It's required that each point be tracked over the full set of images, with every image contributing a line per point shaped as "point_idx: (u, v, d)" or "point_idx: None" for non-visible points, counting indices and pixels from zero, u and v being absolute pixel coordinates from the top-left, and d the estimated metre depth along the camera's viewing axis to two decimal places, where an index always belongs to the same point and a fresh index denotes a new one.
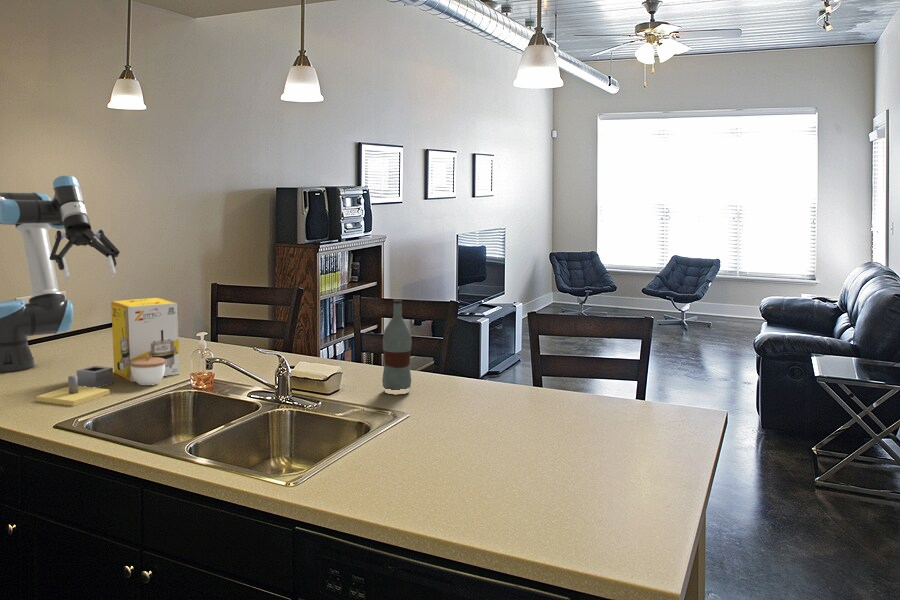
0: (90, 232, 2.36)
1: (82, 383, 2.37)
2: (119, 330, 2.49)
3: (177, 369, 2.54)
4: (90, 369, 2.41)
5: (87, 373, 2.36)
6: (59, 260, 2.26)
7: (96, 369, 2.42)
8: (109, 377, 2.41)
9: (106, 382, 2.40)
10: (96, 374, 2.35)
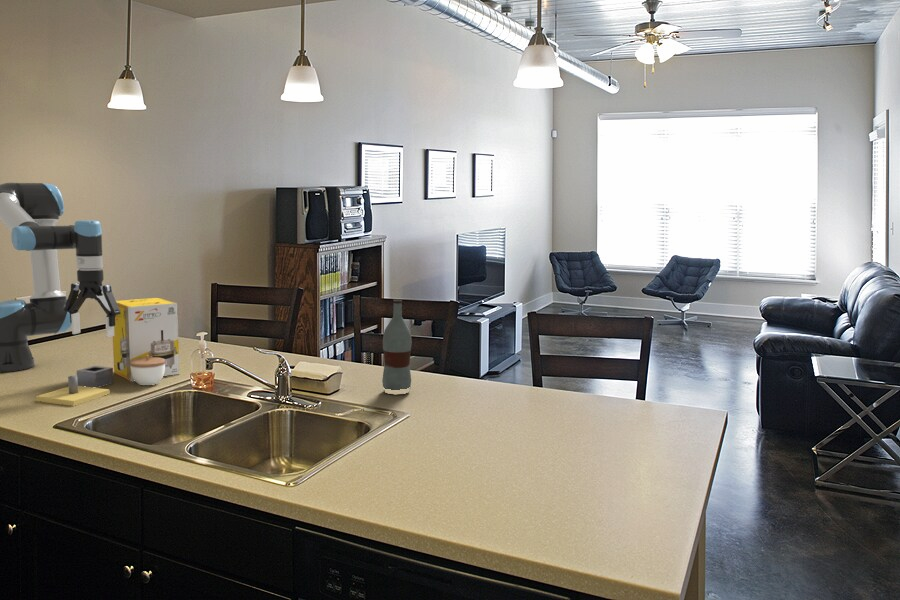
0: (95, 288, 2.34)
1: (82, 383, 2.37)
2: (119, 330, 2.49)
3: (177, 369, 2.54)
4: (90, 369, 2.41)
5: (87, 373, 2.36)
6: (70, 315, 2.39)
7: (96, 369, 2.42)
8: (109, 377, 2.41)
9: (106, 382, 2.40)
10: (96, 374, 2.35)
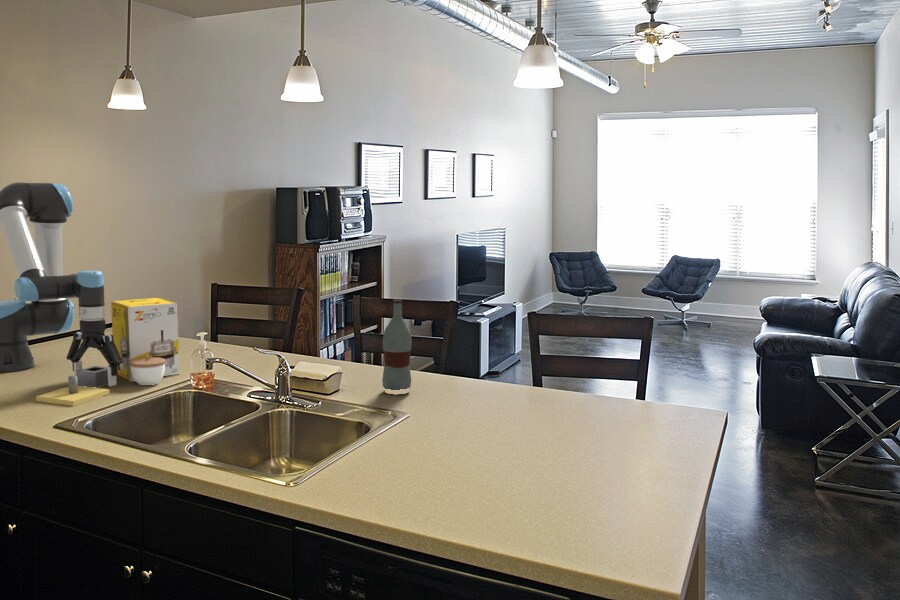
0: (98, 337, 2.36)
1: (82, 383, 2.37)
2: (119, 330, 2.49)
3: (177, 369, 2.54)
4: (90, 369, 2.41)
5: (87, 373, 2.36)
6: (73, 363, 2.41)
7: (96, 369, 2.42)
8: None
9: (106, 382, 2.40)
10: (96, 374, 2.35)
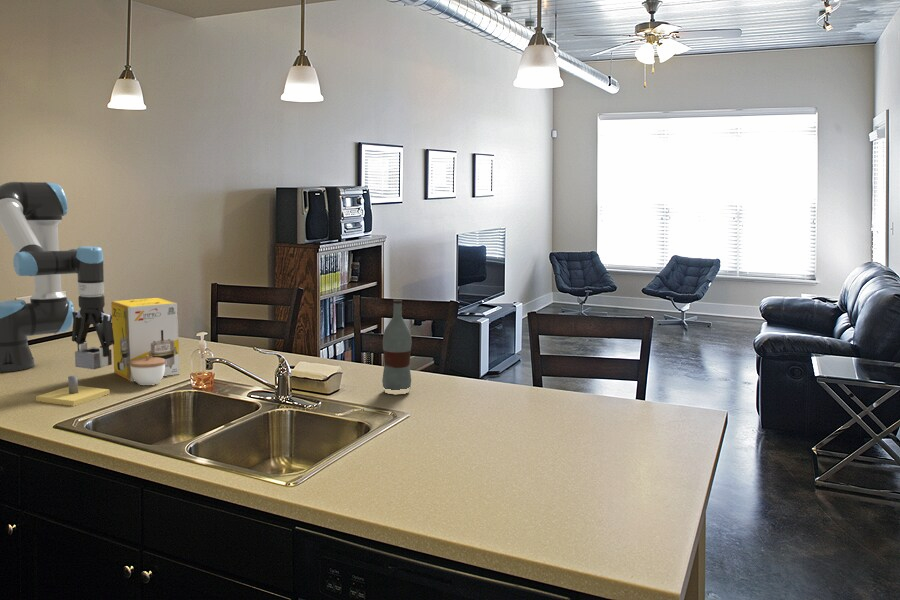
0: (96, 314, 2.35)
1: (81, 365, 2.36)
2: (119, 330, 2.49)
3: (177, 369, 2.54)
4: (89, 350, 2.40)
5: (85, 354, 2.35)
6: (78, 345, 2.40)
7: (95, 350, 2.42)
8: (108, 359, 2.40)
9: None
10: (94, 355, 2.35)
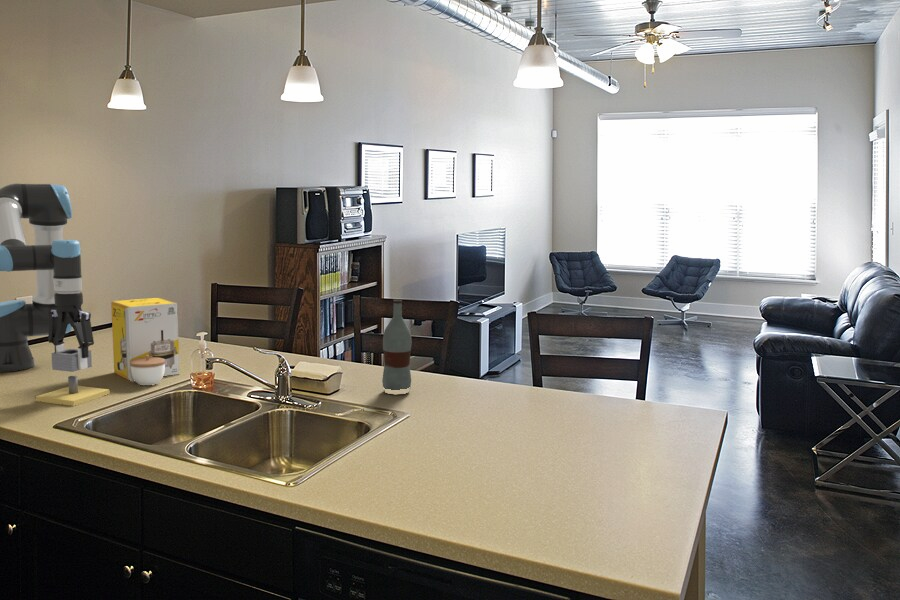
0: (74, 312, 2.18)
1: (58, 367, 2.20)
2: (119, 330, 2.49)
3: (177, 369, 2.54)
4: (67, 352, 2.23)
5: (62, 356, 2.18)
6: (55, 347, 2.23)
7: (73, 352, 2.25)
8: (88, 360, 2.24)
9: None
10: (72, 357, 2.18)
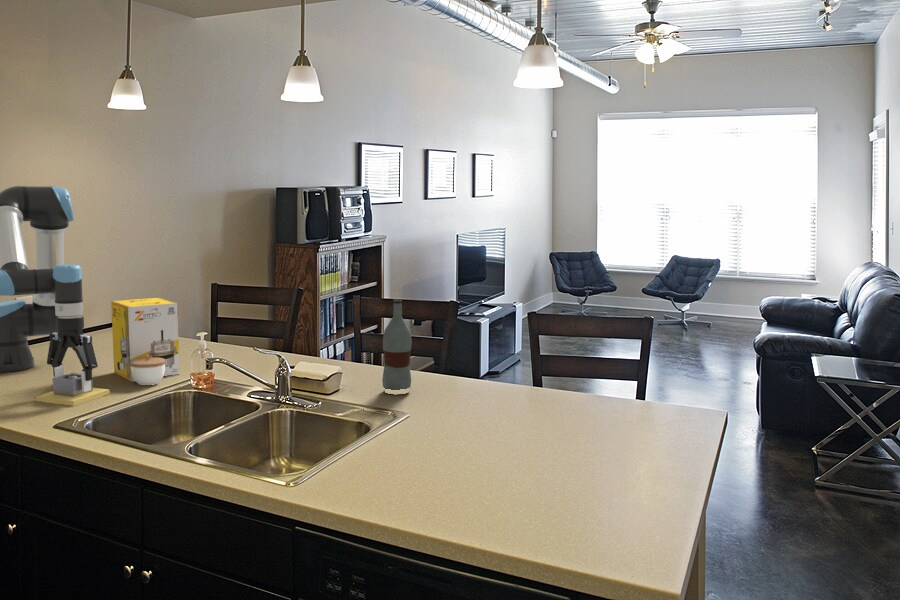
0: (75, 336, 2.20)
1: (59, 392, 2.21)
2: (119, 330, 2.49)
3: (177, 369, 2.54)
4: None
5: (64, 381, 2.20)
6: (54, 368, 2.24)
7: None
8: None
9: None
10: (74, 382, 2.19)
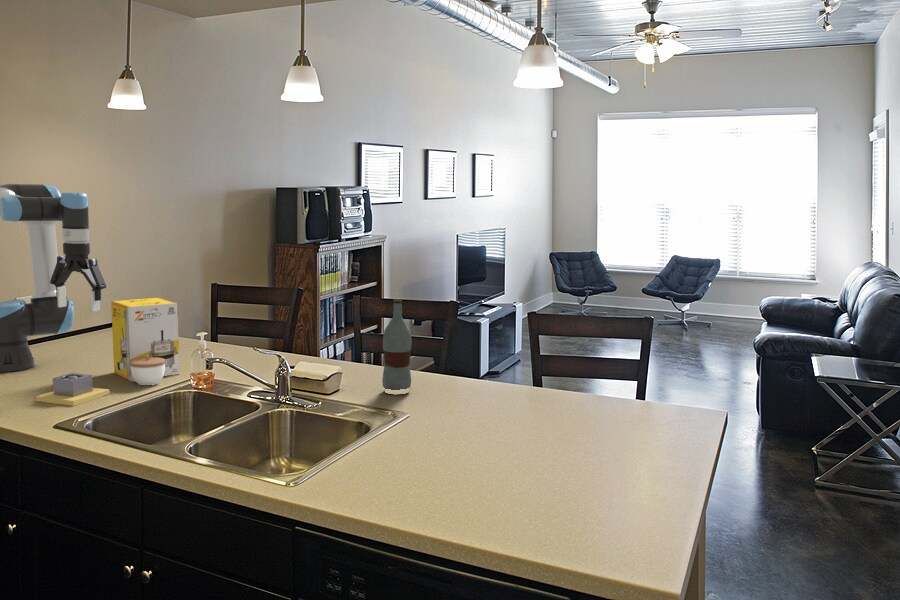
0: (81, 261, 2.31)
1: (59, 392, 2.21)
2: (119, 330, 2.49)
3: (177, 369, 2.54)
4: None
5: (64, 381, 2.20)
6: (56, 288, 2.36)
7: None
8: (89, 385, 2.25)
9: (85, 390, 2.23)
10: (74, 382, 2.19)
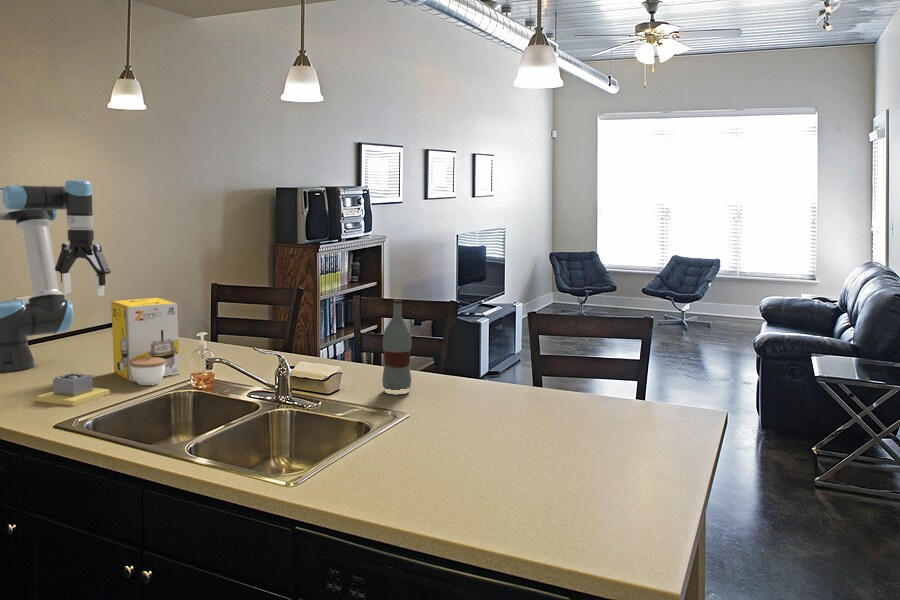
0: (86, 247, 2.37)
1: (59, 392, 2.21)
2: (119, 330, 2.49)
3: (177, 369, 2.54)
4: None
5: (64, 381, 2.20)
6: (61, 275, 2.42)
7: None
8: (89, 385, 2.25)
9: (85, 390, 2.23)
10: (74, 382, 2.19)
